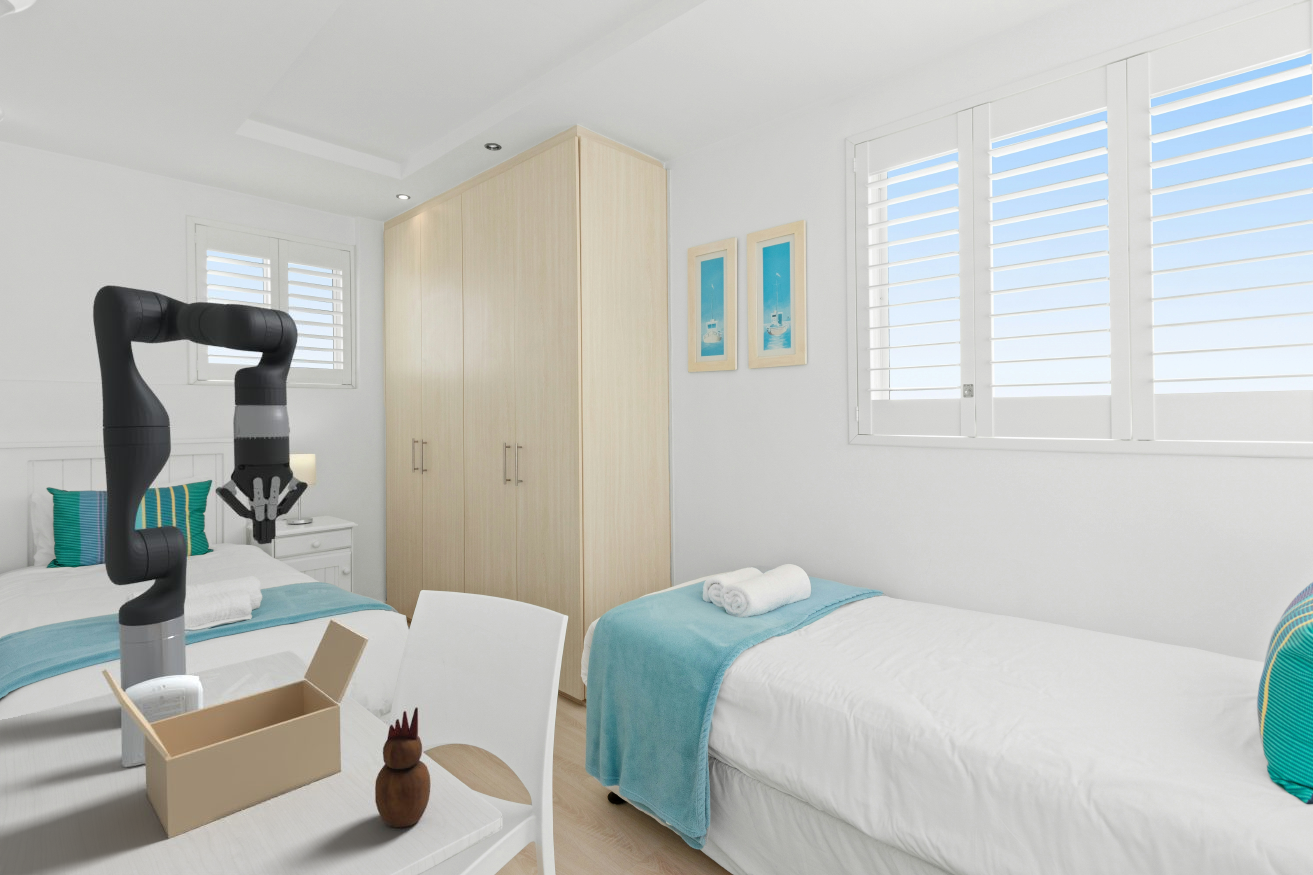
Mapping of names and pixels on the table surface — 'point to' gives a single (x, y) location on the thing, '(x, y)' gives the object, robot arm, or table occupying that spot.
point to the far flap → (336, 660)
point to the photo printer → (157, 709)
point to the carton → (240, 754)
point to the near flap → (134, 713)
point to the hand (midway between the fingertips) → (264, 543)
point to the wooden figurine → (402, 776)
